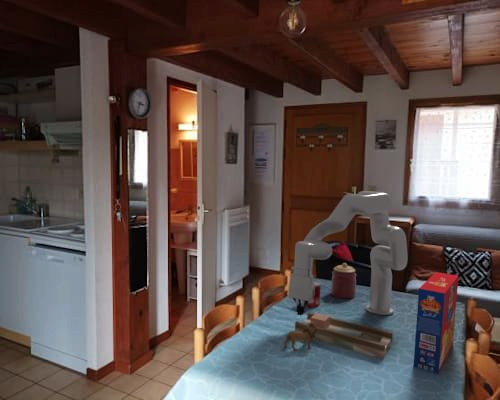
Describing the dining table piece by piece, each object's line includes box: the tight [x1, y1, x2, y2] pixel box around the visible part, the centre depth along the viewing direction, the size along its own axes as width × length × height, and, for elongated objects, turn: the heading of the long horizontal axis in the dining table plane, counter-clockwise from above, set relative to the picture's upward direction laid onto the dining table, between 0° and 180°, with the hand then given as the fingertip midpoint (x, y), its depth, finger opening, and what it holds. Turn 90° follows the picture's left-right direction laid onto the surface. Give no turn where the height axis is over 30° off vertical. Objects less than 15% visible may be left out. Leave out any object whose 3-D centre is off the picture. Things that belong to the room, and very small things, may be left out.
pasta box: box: [413, 271, 459, 375], centre depth 143 cm, size 28×8×28 cm, turn 144°
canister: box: [330, 262, 358, 300], centre depth 210 cm, size 13×13×18 cm
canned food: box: [305, 280, 322, 308], centre depth 194 cm, size 8×8×11 cm
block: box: [311, 312, 331, 329], centre depth 160 cm, size 6×6×4 cm
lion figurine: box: [282, 322, 317, 352], centre depth 147 cm, size 15×5×9 cm, turn 117°
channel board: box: [294, 311, 393, 360], centre depth 155 cm, size 14×35×5 cm, turn 58°
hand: (300, 314), depth 164 cm, fingers closed
